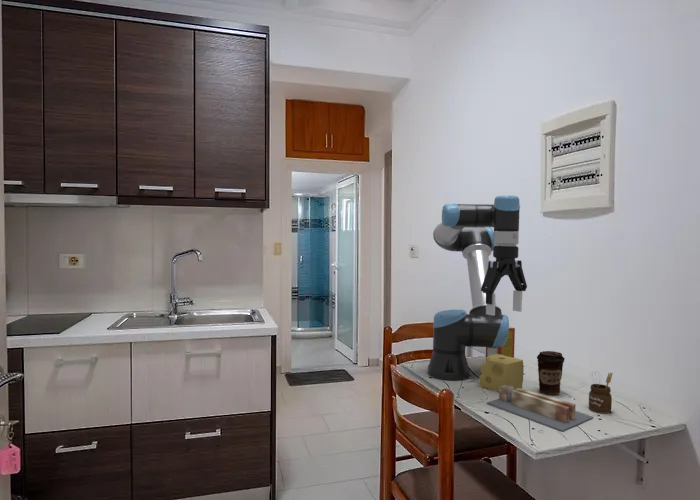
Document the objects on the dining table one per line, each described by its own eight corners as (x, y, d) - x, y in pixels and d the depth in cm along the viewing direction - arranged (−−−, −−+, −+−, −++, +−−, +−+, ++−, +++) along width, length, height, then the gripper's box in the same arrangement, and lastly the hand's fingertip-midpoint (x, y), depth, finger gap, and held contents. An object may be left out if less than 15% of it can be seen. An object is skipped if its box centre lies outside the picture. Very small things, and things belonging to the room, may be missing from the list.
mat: (486, 403, 139) (486, 402, 139) (518, 393, 148) (518, 392, 148) (562, 431, 119) (562, 430, 119) (593, 418, 129) (593, 416, 128)
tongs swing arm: (515, 402, 139) (515, 389, 139) (518, 401, 140) (518, 388, 140) (572, 419, 126) (572, 405, 126) (575, 418, 127) (575, 404, 127)
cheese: (478, 386, 155) (479, 357, 155) (497, 380, 162) (498, 352, 161) (505, 395, 147) (506, 364, 147) (524, 388, 153) (525, 359, 153)
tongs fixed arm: (498, 399, 141) (498, 385, 141) (505, 397, 143) (505, 383, 143) (565, 423, 124) (566, 407, 124) (572, 420, 126) (573, 404, 126)
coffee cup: (567, 398, 145) (568, 357, 144) (539, 395, 146) (540, 355, 146) (560, 389, 153) (561, 350, 153) (533, 387, 155) (534, 349, 154)
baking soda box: (513, 368, 177) (514, 327, 177) (498, 369, 176) (499, 327, 175) (499, 361, 186) (500, 322, 186) (485, 362, 185) (486, 323, 184)
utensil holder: (598, 405, 139) (599, 366, 138) (617, 412, 133) (618, 371, 133) (583, 407, 137) (584, 367, 136) (601, 415, 131) (603, 373, 130)
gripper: (490, 245, 133) (488, 318, 134) (539, 245, 148) (537, 311, 148) (470, 245, 139) (468, 314, 140) (519, 245, 154) (517, 308, 154)
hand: (504, 313), depth 144 cm, fingers open, 13 cm apart
